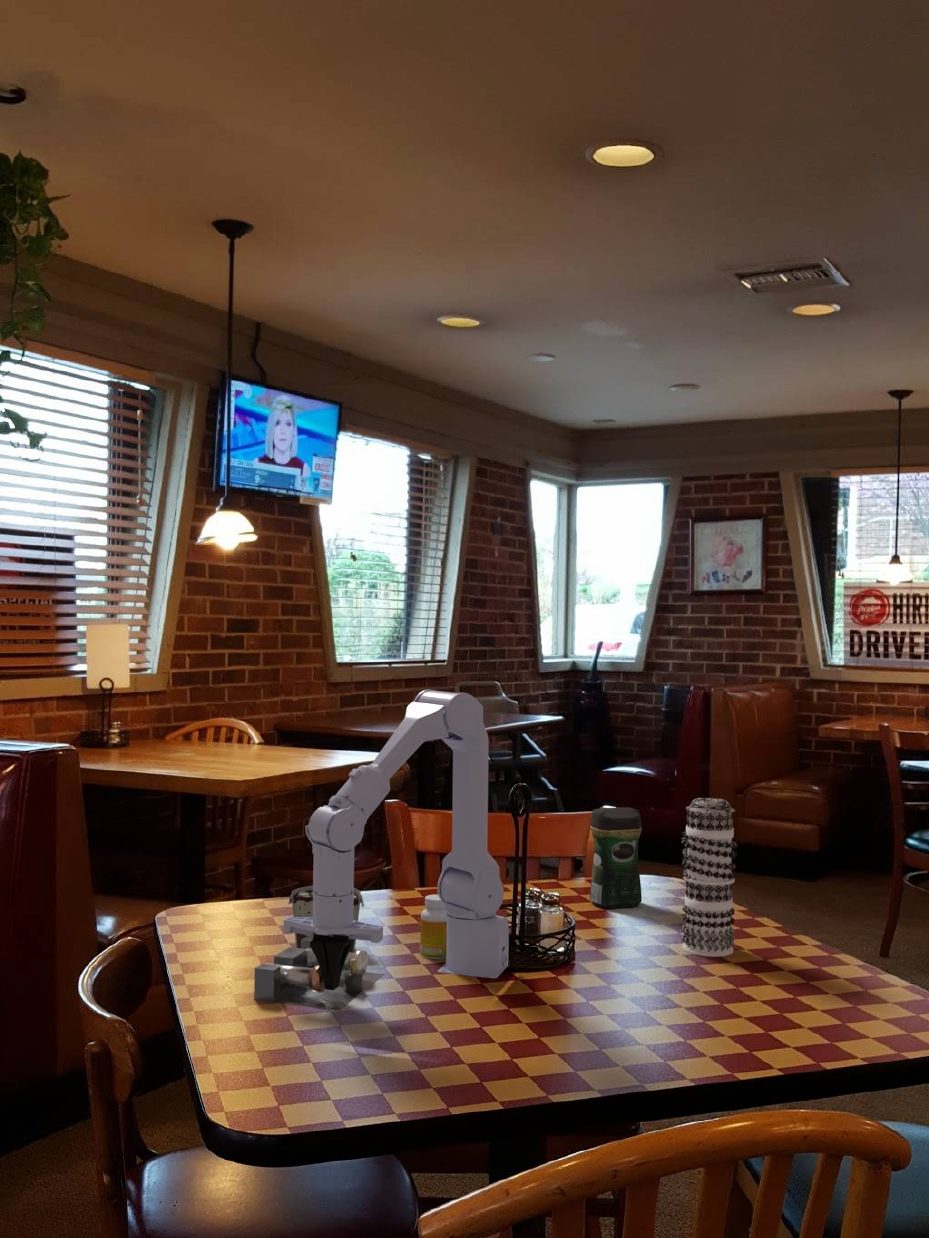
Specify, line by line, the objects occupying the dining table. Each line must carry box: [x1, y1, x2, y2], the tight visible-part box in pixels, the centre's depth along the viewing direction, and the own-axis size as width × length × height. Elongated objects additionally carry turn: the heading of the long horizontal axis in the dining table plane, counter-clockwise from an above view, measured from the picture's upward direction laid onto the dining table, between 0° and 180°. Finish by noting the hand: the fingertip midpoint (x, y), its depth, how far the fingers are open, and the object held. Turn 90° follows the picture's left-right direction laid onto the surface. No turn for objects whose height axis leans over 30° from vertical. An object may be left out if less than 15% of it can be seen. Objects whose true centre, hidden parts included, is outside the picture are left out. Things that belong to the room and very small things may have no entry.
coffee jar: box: [589, 807, 643, 909], centre depth 224 cm, size 10×8×19 cm
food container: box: [288, 885, 365, 953], centre depth 191 cm, size 12×6×10 cm, turn 84°
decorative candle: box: [681, 797, 738, 958], centre depth 194 cm, size 9×9×25 cm
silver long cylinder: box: [307, 948, 369, 976], centre depth 174 cm, size 9×4×4 cm, turn 73°
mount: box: [253, 937, 385, 1011], centre depth 170 cm, size 13×17×5 cm
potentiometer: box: [344, 959, 363, 993], centre depth 169 cm, size 3×3×4 cm
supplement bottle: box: [419, 893, 447, 960], centre depth 188 cm, size 5×5×10 cm
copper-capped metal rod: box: [263, 962, 325, 992], centre depth 167 cm, size 9×4×4 cm, turn 73°
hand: (331, 987), depth 165 cm, fingers closed
